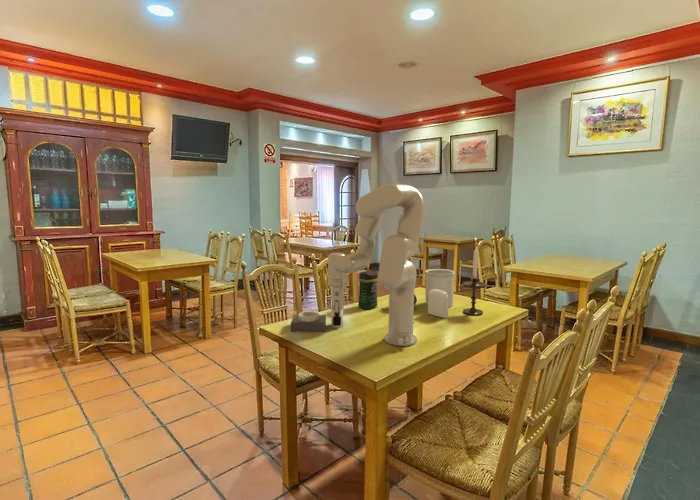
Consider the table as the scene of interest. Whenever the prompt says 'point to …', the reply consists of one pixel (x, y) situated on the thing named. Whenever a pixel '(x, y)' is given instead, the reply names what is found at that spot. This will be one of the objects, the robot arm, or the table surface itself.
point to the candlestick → (474, 287)
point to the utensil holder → (440, 282)
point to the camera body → (308, 322)
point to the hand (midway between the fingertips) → (337, 322)
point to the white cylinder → (341, 318)
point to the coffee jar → (368, 289)
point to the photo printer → (438, 303)
